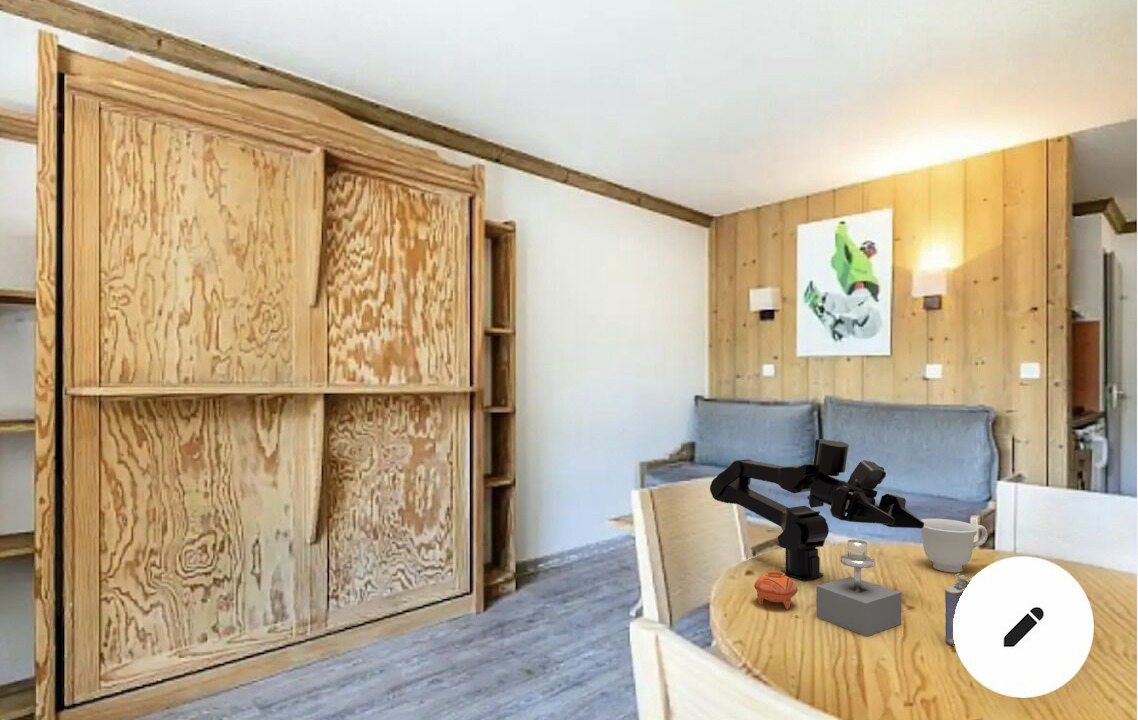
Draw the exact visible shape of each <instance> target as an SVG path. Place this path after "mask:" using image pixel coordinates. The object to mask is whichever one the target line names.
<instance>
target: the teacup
mask: <svg viewBox="0 0 1138 720" xmlns="http://www.w3.org/2000/svg"><path fill="white" fill-rule="evenodd" d="M920 520H921V521H922V522H924V527H923V528H919V529H920V533H921V539H922V540H921V541H922V547H923V551H924V554H925V556H926V557H927V559H929V560H930V561H931V562H932V563H933V564H932V567H933V568H934V569H935V570H937V571H941V572H945V573H955V574H958V573H961V572H963V566H966V565H967V564H968V563H970V562H971V558H972V555H973V550H974V549H975V548H977V547H980V546H982V545H984V544H985V542H986V541H987V539H988V530H987V528H986V527H985V526H984V525H981V524H972V523H969V522H966V521H960V520H956V519H955V520H954V519H945V518H923V519H920ZM978 531H981V536H980V538H979V539H977V540H976V541H975V536H977V533H978Z"/></svg>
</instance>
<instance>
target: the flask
mask: <svg viewBox="0 0 1138 720" xmlns="http://www.w3.org/2000/svg"><path fill="white" fill-rule="evenodd" d="M956 577H957V580H956V583H954V584H952V585H949V586H948V587H946V589H945V590H944V598H945V599H944V600H945V613H944V614H945V626H944V627H945V644H946V645H947V646H952V647H954V648H956V647H955V644H954V640H953V618H954V614H955V609H956V606H957V603H958V601H959V598H960V596H961V595H962V593H963V591H964V590H965V588H966V587H967V585H968V584H969V582H970V581H971V579H969V577H967V576H965V575H964V574H961V573H955V575H954V578H956Z"/></svg>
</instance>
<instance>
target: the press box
mask: <svg viewBox="0 0 1138 720" xmlns="http://www.w3.org/2000/svg"><path fill="white" fill-rule="evenodd" d="M861 583H862V591H863V592H861V593H859V592H856V591H853V590H854V576H853V577H852V576H848V577H844V578H841V579H838V580H833V581H830V582H826V583H825V582H824V583H823V584H819V585H816V586H815V591H816V592H815V593H816V594H815V598H816V602H815V604H816V618H818V619H822V620H824V621H827V622H829V623H831V624H834V625H837V626H839V627H841V628H844V629H847V630H849V631H852V632H855V633H857V634H859V635H861V636H864V637H869V636H873V635H875V634H878V633H880V632H883V631H886V630H889V629H892V628H894V627H897V626H900V625H902V592H901V591H897V590H894V589H891V588H888V587H884V586H881V585H878V584H875V583H872V582H869V581H866V580H863V579H861Z"/></svg>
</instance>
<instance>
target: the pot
mask: <svg viewBox="0 0 1138 720" xmlns="http://www.w3.org/2000/svg"><path fill="white" fill-rule="evenodd" d="M753 585H754V589H755V590H756V593H757V601H758V603H759V604H760V605H763V603H764V600H767V601H769V602H772V603H783V605H784V607H785V609H786V610H789V608H790V607H791V599H792V598H793V597H794V596H795V595H796V594H798V593H797V592H798V586H797V584H796V583H795V581H794V580H792V578H790V577H789V576H788V575H786V574H785V573H783V572H781V571H779V570H777V571H776V570H769V571H765V574H762V575H761V576H759V577H758V578H757V579H756V581H754V584H753Z"/></svg>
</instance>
